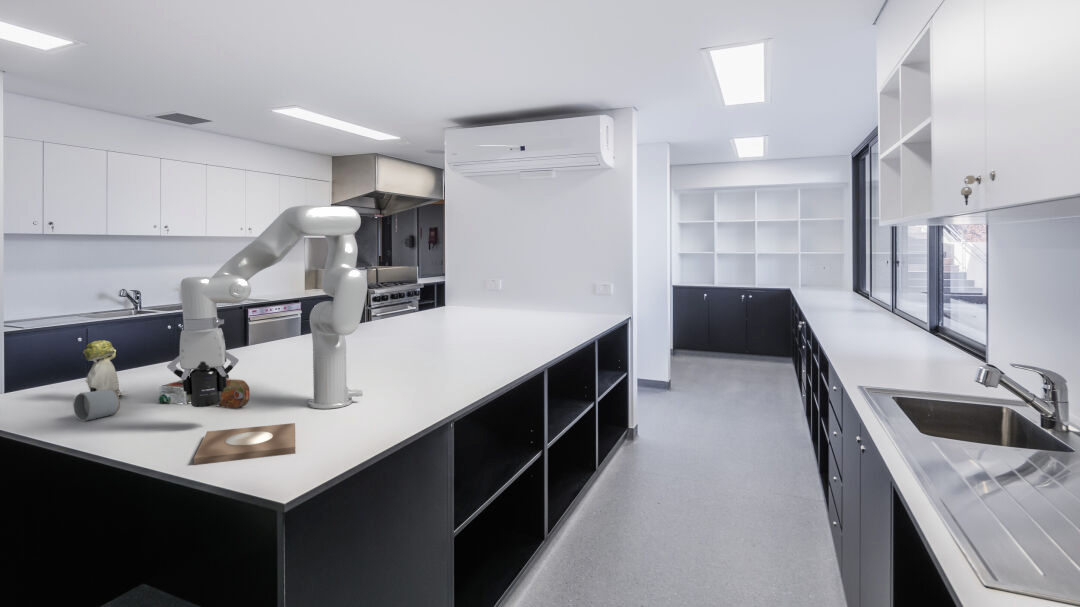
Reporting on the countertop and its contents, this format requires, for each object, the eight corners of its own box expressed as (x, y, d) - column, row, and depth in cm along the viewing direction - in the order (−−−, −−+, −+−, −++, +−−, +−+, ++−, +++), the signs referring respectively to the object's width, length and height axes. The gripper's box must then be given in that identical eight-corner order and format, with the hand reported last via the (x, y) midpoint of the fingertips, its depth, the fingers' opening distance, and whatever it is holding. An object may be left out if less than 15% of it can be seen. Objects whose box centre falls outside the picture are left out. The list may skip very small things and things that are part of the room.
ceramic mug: (123, 415, 156) (121, 388, 155) (90, 423, 148) (89, 394, 148) (98, 411, 160) (97, 384, 159) (65, 418, 152) (64, 390, 152)
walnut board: (295, 428, 146) (295, 422, 146) (295, 453, 128) (295, 446, 128) (207, 437, 138) (207, 430, 138) (194, 464, 120) (193, 457, 120)
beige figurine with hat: (132, 393, 181) (130, 337, 179) (117, 403, 168) (114, 343, 167) (88, 395, 177) (85, 338, 175) (69, 406, 164) (66, 344, 163)
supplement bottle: (207, 408, 142) (204, 362, 141) (184, 407, 143) (181, 361, 142) (227, 401, 148) (224, 356, 147) (205, 400, 150) (202, 356, 149)
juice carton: (230, 391, 187) (230, 373, 187) (184, 406, 167) (183, 387, 167) (204, 389, 188) (203, 372, 188) (155, 404, 169) (154, 385, 168)
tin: (207, 404, 169) (206, 377, 168) (216, 402, 172) (215, 375, 171) (243, 410, 163) (242, 382, 162) (252, 407, 166) (251, 380, 165)
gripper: (240, 320, 151) (244, 385, 152) (164, 325, 144) (169, 392, 145) (237, 324, 144) (242, 392, 146) (157, 329, 137) (163, 399, 139)
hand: (205, 391), depth 145 cm, fingers closed on supplement bottle, 6 cm apart
